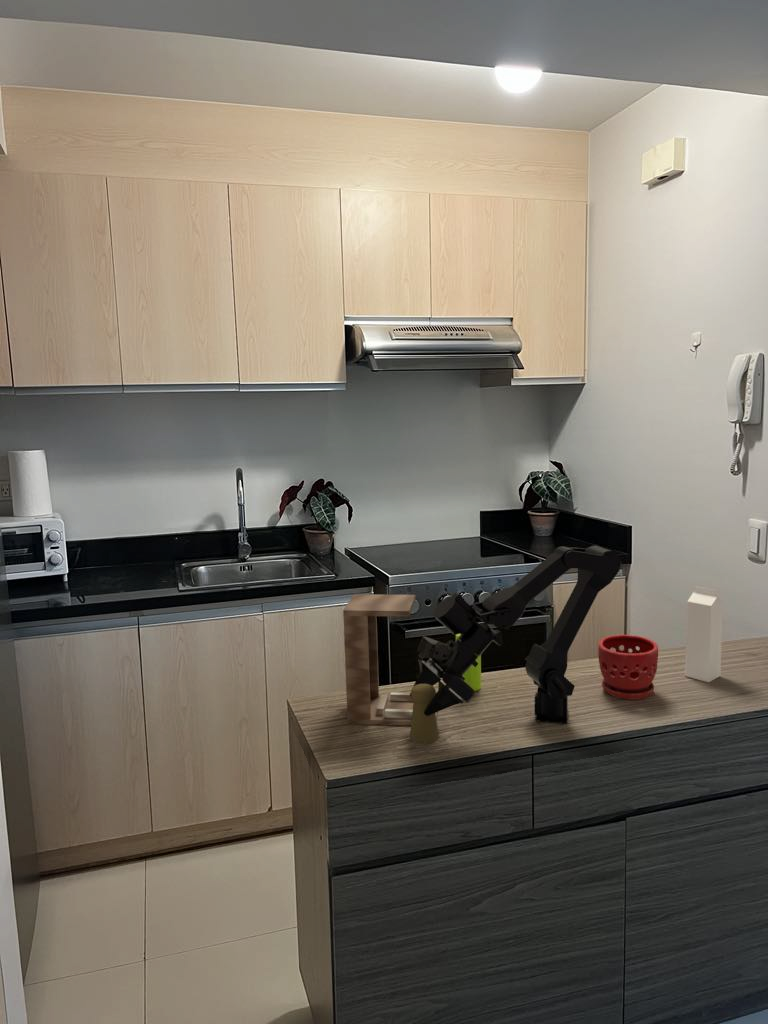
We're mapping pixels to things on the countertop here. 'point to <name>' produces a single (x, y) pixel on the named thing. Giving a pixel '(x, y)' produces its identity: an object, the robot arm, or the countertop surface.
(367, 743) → the countertop surface
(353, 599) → the wooden stand
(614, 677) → the plant pot
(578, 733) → the countertop surface
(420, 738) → the cork
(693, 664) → the milk
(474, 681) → the soap dispenser
